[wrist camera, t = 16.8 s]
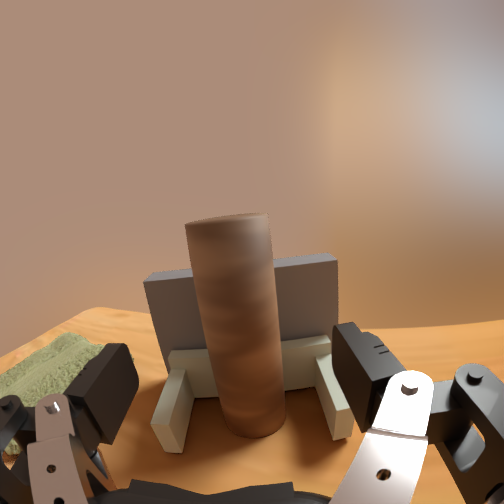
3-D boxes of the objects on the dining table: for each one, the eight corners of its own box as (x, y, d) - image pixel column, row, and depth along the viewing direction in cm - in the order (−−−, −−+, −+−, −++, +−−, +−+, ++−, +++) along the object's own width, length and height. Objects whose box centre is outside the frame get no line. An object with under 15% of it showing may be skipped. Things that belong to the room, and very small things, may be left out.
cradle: (165, 451, 14) (144, 412, 13) (183, 388, 21) (171, 350, 20) (351, 436, 14) (358, 394, 13) (326, 374, 21) (326, 334, 20)
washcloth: (-20, 409, 13) (-34, 384, 12) (78, 347, 29) (70, 325, 29) (24, 475, 8) (-1, 447, 8) (147, 371, 25) (138, 344, 24)
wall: (173, 389, 21) (143, 281, 19) (178, 373, 23) (153, 272, 21) (336, 373, 21) (337, 259, 19) (329, 358, 23) (327, 252, 21)
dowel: (223, 439, 15) (175, 229, 12) (227, 399, 20) (193, 220, 17) (289, 434, 15) (272, 217, 12) (282, 394, 19) (265, 211, 17)
